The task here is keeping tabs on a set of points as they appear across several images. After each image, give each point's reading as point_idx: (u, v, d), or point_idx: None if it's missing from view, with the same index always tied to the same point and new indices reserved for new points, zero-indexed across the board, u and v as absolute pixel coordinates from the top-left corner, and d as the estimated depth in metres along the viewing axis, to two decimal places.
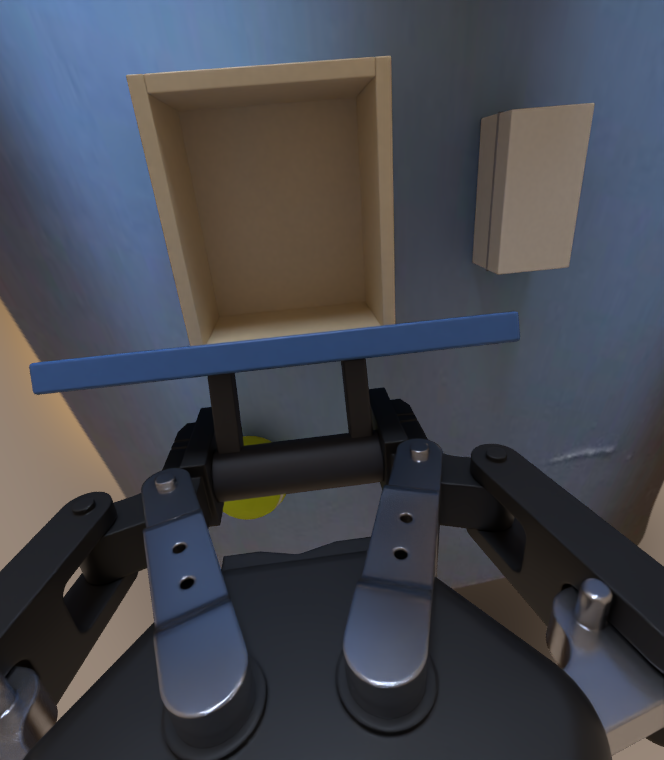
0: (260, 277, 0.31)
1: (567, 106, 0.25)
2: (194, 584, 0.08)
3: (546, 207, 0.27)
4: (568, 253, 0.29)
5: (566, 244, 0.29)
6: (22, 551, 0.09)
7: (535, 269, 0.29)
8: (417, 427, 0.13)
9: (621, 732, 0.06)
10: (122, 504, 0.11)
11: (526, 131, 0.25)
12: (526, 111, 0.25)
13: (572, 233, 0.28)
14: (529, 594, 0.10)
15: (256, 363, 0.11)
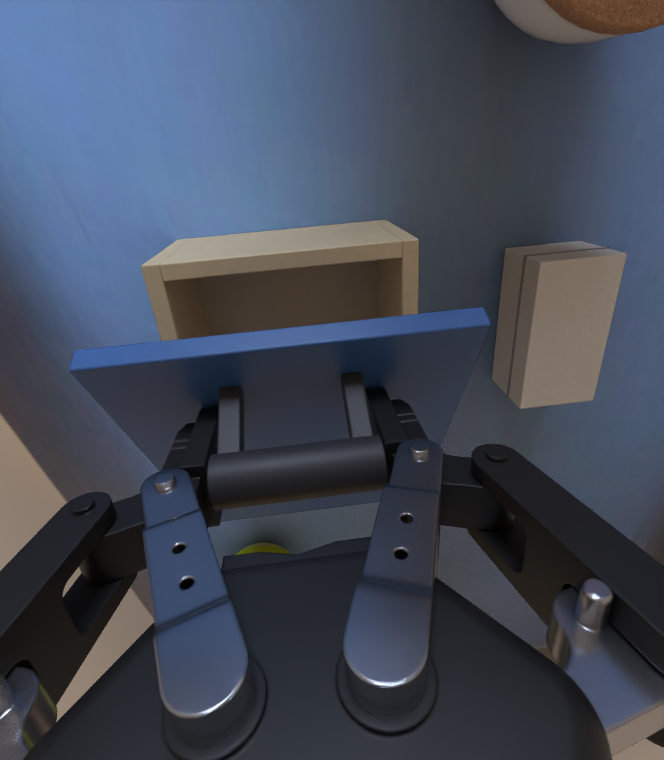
0: None
1: (598, 257, 0.24)
2: (194, 584, 0.08)
3: (572, 348, 0.26)
4: (593, 388, 0.28)
5: (591, 380, 0.28)
6: (21, 551, 0.09)
7: (559, 403, 0.28)
8: (418, 427, 0.13)
9: (621, 732, 0.06)
10: (122, 504, 0.11)
11: (554, 281, 0.24)
12: (555, 263, 0.24)
13: (598, 371, 0.27)
14: (529, 594, 0.10)
15: (261, 345, 0.13)
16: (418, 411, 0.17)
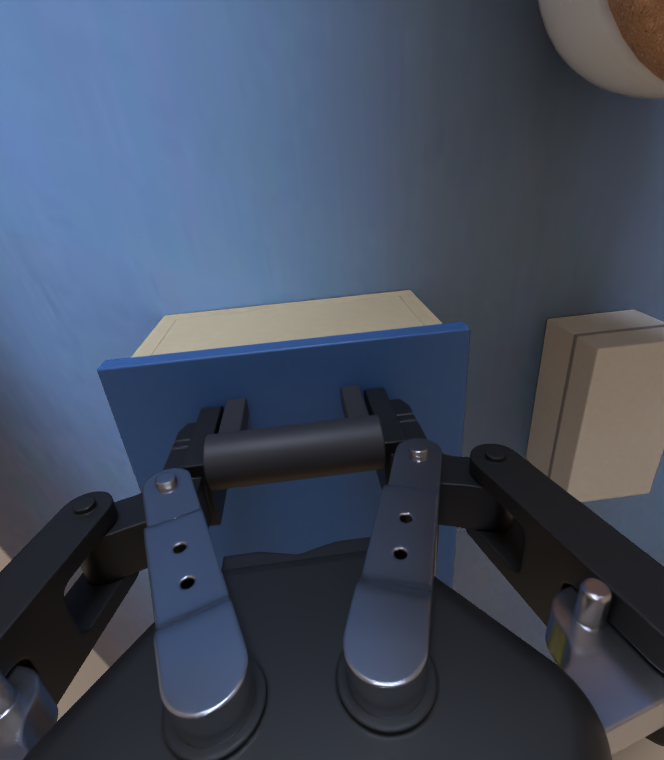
0: None
1: None
2: (194, 584, 0.08)
3: (629, 440, 0.22)
4: (650, 481, 0.24)
5: (648, 473, 0.24)
6: (23, 551, 0.09)
7: (609, 497, 0.24)
8: (416, 427, 0.13)
9: (621, 732, 0.06)
10: (123, 504, 0.11)
11: (613, 369, 0.20)
12: (615, 349, 0.20)
13: (657, 462, 0.23)
14: (528, 593, 0.10)
15: (266, 348, 0.15)
16: None
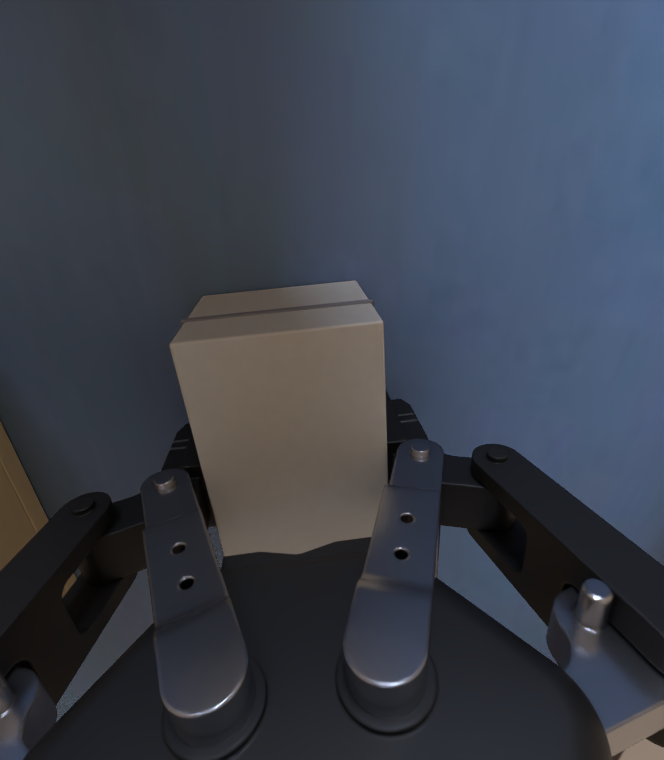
0: None
1: (313, 331, 0.10)
2: (193, 584, 0.08)
3: (315, 512, 0.12)
4: None
5: None
6: (21, 552, 0.09)
7: None
8: (418, 427, 0.13)
9: (621, 733, 0.06)
10: (122, 504, 0.11)
11: (222, 385, 0.10)
12: (207, 346, 0.10)
13: None
14: (529, 594, 0.10)
15: None
16: None
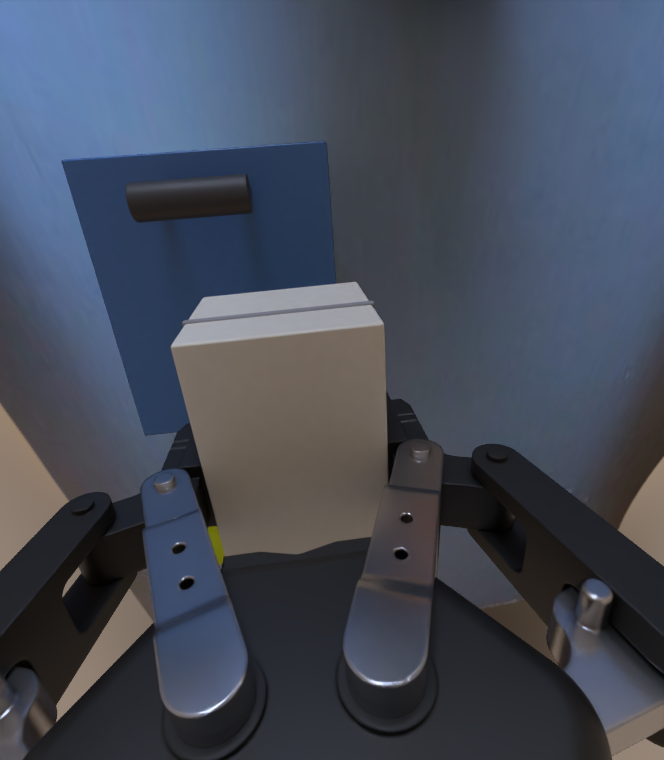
0: None
1: (314, 333, 0.10)
2: (193, 584, 0.08)
3: (315, 513, 0.12)
4: None
5: None
6: (21, 552, 0.09)
7: None
8: (418, 427, 0.13)
9: (621, 733, 0.06)
10: (122, 505, 0.11)
11: (223, 387, 0.10)
12: (208, 347, 0.10)
13: None
14: (529, 594, 0.10)
15: (181, 151, 0.21)
16: (304, 246, 0.23)
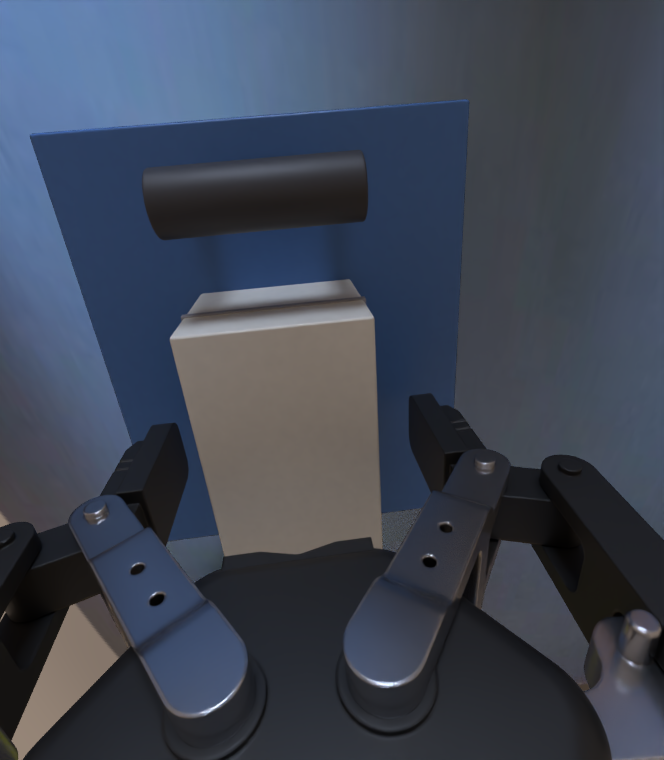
0: None
1: (307, 326, 0.10)
2: (165, 598, 0.07)
3: (309, 502, 0.13)
4: None
5: None
6: None
7: None
8: (472, 436, 0.13)
9: None
10: (50, 534, 0.10)
11: (220, 378, 0.11)
12: (205, 340, 0.10)
13: (377, 538, 0.14)
14: (581, 616, 0.09)
15: (231, 118, 0.12)
16: (417, 270, 0.15)
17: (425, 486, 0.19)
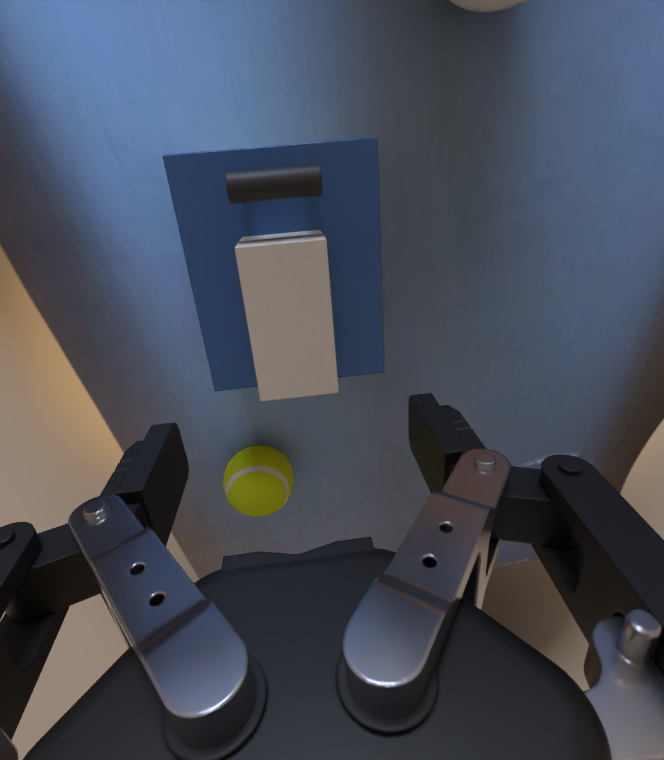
0: None
1: (296, 242, 0.23)
2: (165, 598, 0.07)
3: (298, 338, 0.26)
4: (335, 380, 0.27)
5: (329, 371, 0.27)
6: None
7: (301, 395, 0.27)
8: (472, 436, 0.13)
9: None
10: (50, 534, 0.10)
11: (256, 267, 0.24)
12: (250, 248, 0.23)
13: (333, 361, 0.27)
14: (581, 616, 0.09)
15: None
16: (356, 225, 0.28)
17: (369, 358, 0.32)
